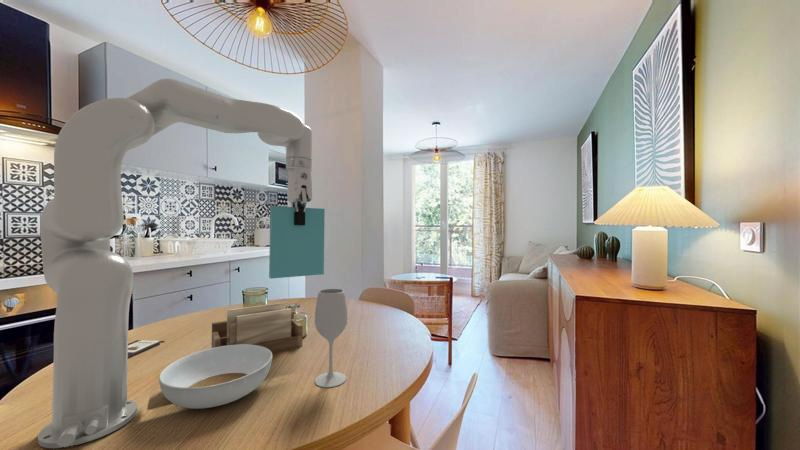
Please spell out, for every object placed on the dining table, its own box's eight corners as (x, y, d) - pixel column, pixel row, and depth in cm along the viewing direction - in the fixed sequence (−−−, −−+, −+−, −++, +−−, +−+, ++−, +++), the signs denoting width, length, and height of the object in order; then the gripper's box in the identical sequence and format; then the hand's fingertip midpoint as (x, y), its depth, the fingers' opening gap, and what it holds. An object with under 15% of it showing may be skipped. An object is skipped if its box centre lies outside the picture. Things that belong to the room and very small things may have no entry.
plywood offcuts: (290, 347, 88) (291, 303, 89) (227, 360, 79) (228, 312, 79) (287, 343, 91) (288, 301, 91) (226, 356, 82) (227, 309, 82)
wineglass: (314, 390, 68) (314, 295, 68) (314, 374, 75) (315, 288, 75) (348, 385, 70) (349, 293, 70) (345, 370, 77) (345, 287, 77)
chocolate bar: (73, 365, 78) (137, 340, 96) (73, 369, 78) (137, 343, 96) (106, 366, 78) (164, 340, 96) (106, 370, 78) (164, 343, 96)
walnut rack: (302, 351, 89) (302, 318, 90) (214, 370, 77) (215, 332, 77) (292, 340, 98) (292, 311, 98) (211, 357, 85) (211, 322, 85)
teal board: (323, 274, 98) (324, 208, 98) (270, 278, 88) (271, 206, 89) (321, 273, 99) (322, 209, 100) (269, 277, 90) (270, 206, 90)
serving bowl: (151, 393, 66) (152, 361, 66) (252, 364, 81) (253, 338, 81) (167, 441, 51) (168, 399, 51) (288, 394, 66) (288, 362, 66)
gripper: (320, 162, 90) (319, 225, 90) (302, 171, 103) (302, 225, 103) (294, 159, 86) (293, 224, 86) (279, 168, 99) (278, 225, 98)
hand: (298, 224), depth 94 cm, fingers closed on teal board, 2 cm apart
